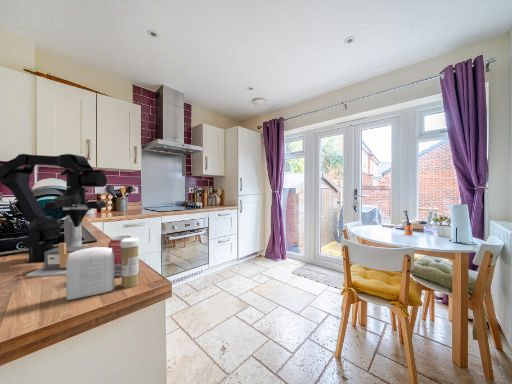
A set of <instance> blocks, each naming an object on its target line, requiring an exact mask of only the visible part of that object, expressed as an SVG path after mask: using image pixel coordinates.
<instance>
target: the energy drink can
mask: <svg viewBox="0 0 512 384" xmlns="http://www.w3.org/2000/svg"><path fill="white" fill-rule="evenodd" d="M63 222H64V223H63V226H64V227H63V228H64V229H63V230H64V231H63V233H64V235H63V236H64V243H66V247H76V246H83V240H82V239H83V236H82V235H83V234H82V230H83V229H82V228H83V227H82V222H81V223H80V225H79V227H75V226H74V224H73V222H72V220H71V218H70V217H69V216H66V217H65V219H64V221H63Z"/></svg>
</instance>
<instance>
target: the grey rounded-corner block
mask: <svg viewBox="0 0 512 384" xmlns="http://www.w3.org/2000/svg"><path fill="white" fill-rule="evenodd" d="M65 276H66V278H65V279H66V281H65V282H66V283H65V284H66V288H65V289H66V291H65V293H66V296H65V298H66V300H68V301H70V300H71V301H72V300H76V299H81V298H82V299H83V298H86V297H91V296H95V295H100V294H105V293H108V292H112V291H114V290H115V277H114V253H113V251H112V248H108V246H106V247H104V246H93V247H92V248H86V249H81V250H78V251H75V252H72V253H70V254H69V255H68V259H67V261H66V275H65Z"/></svg>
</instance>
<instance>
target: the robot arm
mask: <svg viewBox="0 0 512 384" xmlns="http://www.w3.org/2000/svg"><path fill="white" fill-rule="evenodd" d="M24 165H25V166H24ZM22 166H23V167H22ZM36 166H53V167H54V166H55V167H59V168H63V169H64V170H63V171H62V172H60V173H59V175H61V176H65V178H66V179H65V181H66V182H65V183H66V184H65V185H66V186H65V189H63V194H62V195H61V194H60V195H58V196H56V197H55V198H53V201H46V202H45V203H44V204H43V208H44V209H43V208H42V206H41V205H40V203H39V201H38V200H37V198H36V196H35V194H34V192H33V191H32V189H31V187H30V183H31V177H30V175H31V174H32V173H34V172H35V171H34V170H35V167H36ZM107 183H108V178H107V175H106V173H104V170H103V169H94V168H93V167H92V166H91V164H90V163H89V161H88V159H87V157H86V156H83V155H77V154H72V153H65V154H64V153H63V154H59V155H44V154H43V155H38V154H28V153H21V154H20V153H19V154H18V155H17V156H16V157H15V158H12V159H10V160H8V161H5V162H3V163H2V164H1V165H0V184H1V185H2V186H4V187H5V188H7V189H9V190H10V191H11V192H12V194H13V195H14V198H15V200H16V201H17V203H18V204H19V206H20V208H21V209H22V211H23V213H24V215H25V217H26V219H27V221H28V223H29V224H28V227H27V232H28V235H27V236H26V238H24V239H23V240H22V242H21V243H22V245H23V247H24V248H28V260H25V261H24V263H42V262H44V263H45V257H44V252H46V251H49V250H52V249H54V248H55V246H54V242H55V243H56V242H57V241H58V239H59V236H60V235H61V234H60V233H61V227H62V226H61V225H60V224H59V223H58V220H57V218H55V217H54V218H49V217H48V216H47V215H46V213H45V211H44V210H55V209H61V212H64V213H65V214H67V215H68V217H70V218H71V220H72V222H73V224H74V226H75V227H79V225H80V223H81V224H82V222H83V219H84V218H85V216H86V215H87V213H88V211H90V210H94V209H95V210H97V209H99V210H100V209H104V208H107V202H106V201H105V200H90V201H89V200H88V199H87V198H86V197H87V196H86V195H87V193H88V191H89V190H88V189H86V188H104V187H105V186H106V185H107Z"/></svg>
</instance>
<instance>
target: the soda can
mask: <svg viewBox="0 0 512 384" xmlns="http://www.w3.org/2000/svg"><path fill="white" fill-rule="evenodd" d="M127 238H132V236H131V235H117V236H113V237H111V238H110V241H109V243H108V246H107V248H112V251H113V253H114V278H116V277H117V278H119V277H120V278H121V277H122V275H121V259H122V255H121V252H122V251H121V240H123V239H127Z"/></svg>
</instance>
